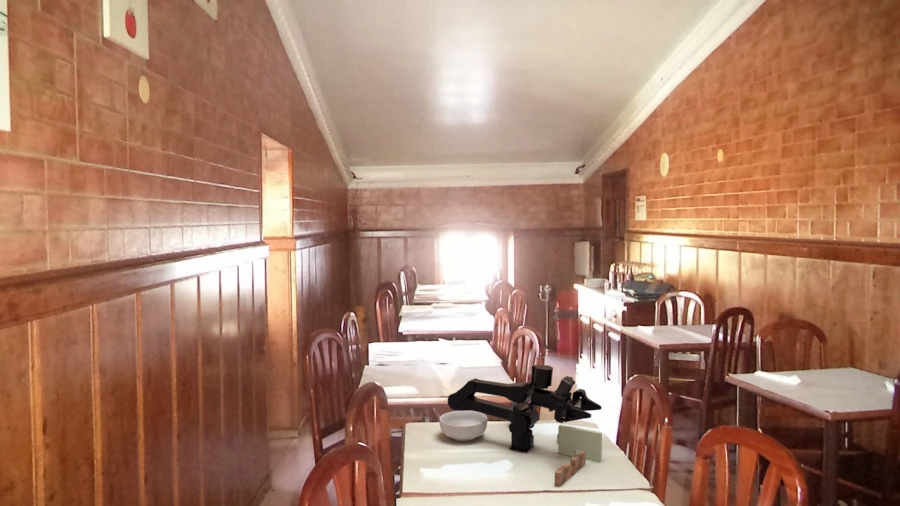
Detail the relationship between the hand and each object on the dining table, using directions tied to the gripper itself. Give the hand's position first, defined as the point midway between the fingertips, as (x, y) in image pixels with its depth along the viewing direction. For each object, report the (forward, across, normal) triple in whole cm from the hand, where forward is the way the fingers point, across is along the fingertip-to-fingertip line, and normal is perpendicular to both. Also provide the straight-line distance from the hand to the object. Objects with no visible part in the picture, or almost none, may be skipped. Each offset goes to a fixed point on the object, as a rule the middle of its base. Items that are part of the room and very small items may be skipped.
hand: (596, 411), depth 202 cm
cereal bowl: (-46, -1, +21) cm, 50 cm away
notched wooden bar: (-2, -12, +16) cm, 21 cm away
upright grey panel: (-5, +3, +17) cm, 18 cm away
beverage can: (-33, +20, +20) cm, 44 cm away
